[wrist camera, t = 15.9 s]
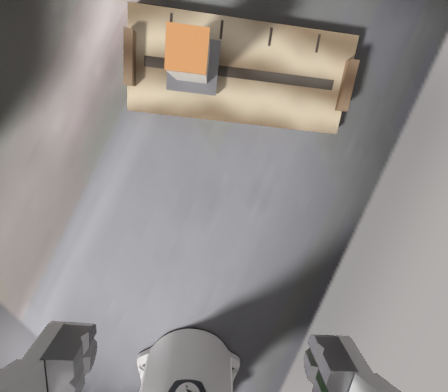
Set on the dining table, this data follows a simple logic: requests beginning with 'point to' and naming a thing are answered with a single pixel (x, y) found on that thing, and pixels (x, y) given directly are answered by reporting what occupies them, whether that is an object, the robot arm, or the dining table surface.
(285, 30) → the fader console
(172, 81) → the fader handle
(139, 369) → the robot arm
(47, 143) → the dining table surface
